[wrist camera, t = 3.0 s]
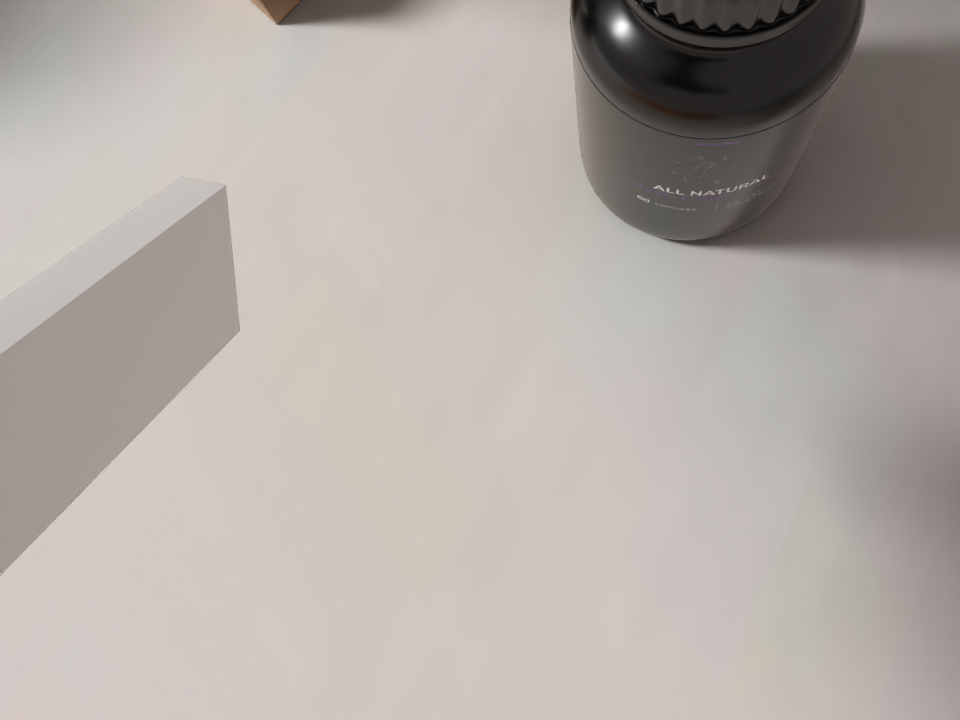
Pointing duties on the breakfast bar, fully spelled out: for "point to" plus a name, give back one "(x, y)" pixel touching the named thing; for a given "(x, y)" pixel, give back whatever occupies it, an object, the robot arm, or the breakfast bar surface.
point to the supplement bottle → (702, 103)
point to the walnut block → (276, 8)
